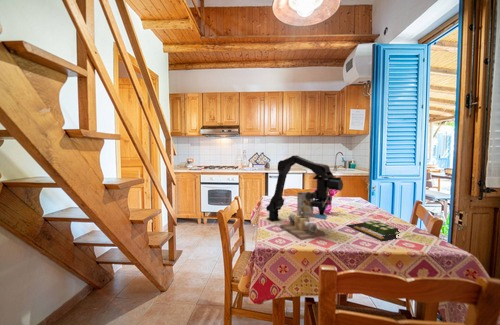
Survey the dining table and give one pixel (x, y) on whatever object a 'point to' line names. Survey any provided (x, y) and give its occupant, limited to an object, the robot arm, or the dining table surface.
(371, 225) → the sushi
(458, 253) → the dining table surface
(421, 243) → the dining table surface
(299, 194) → the coffee box
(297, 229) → the valve board
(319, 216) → the lever
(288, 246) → the dining table surface
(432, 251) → the dining table surface
